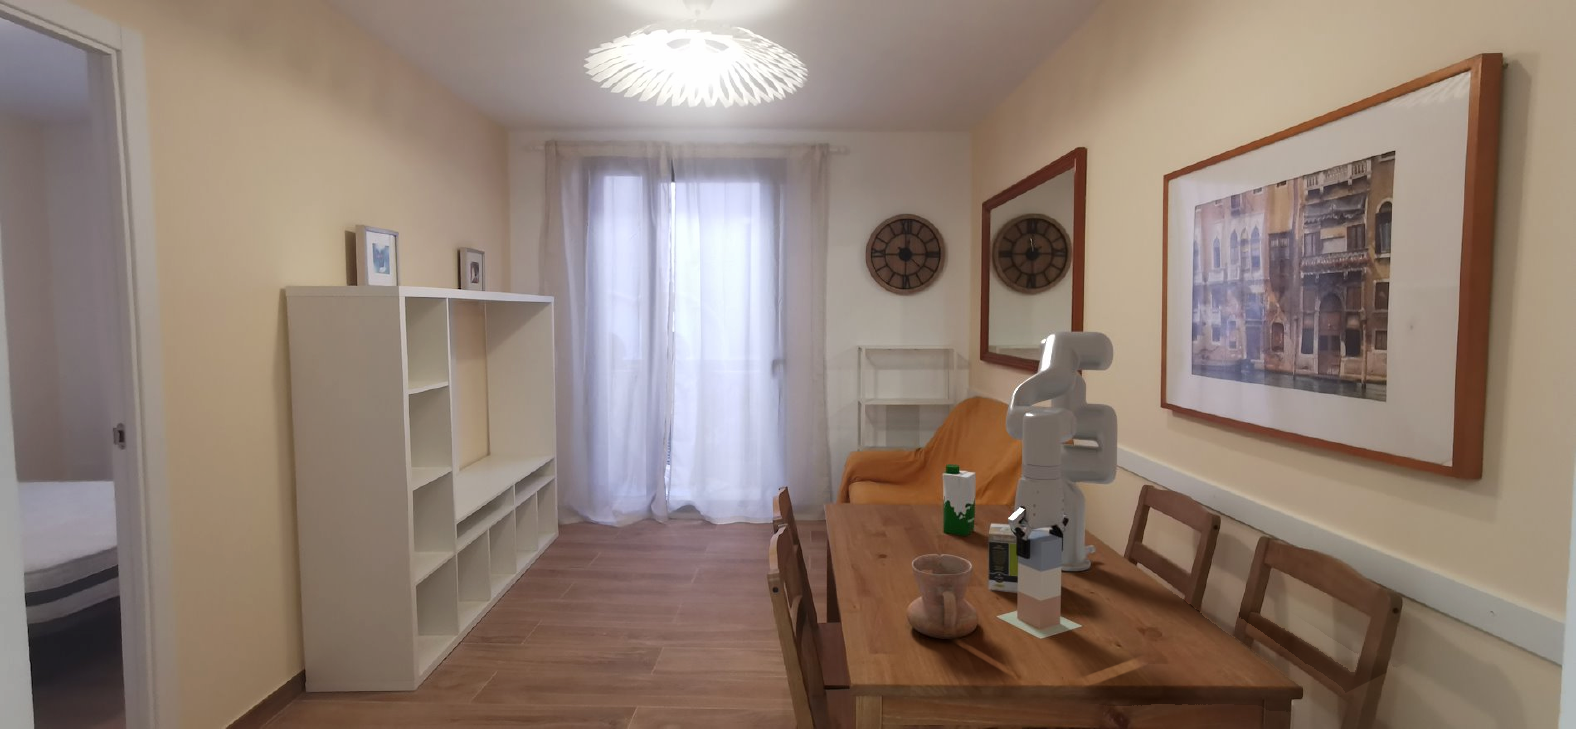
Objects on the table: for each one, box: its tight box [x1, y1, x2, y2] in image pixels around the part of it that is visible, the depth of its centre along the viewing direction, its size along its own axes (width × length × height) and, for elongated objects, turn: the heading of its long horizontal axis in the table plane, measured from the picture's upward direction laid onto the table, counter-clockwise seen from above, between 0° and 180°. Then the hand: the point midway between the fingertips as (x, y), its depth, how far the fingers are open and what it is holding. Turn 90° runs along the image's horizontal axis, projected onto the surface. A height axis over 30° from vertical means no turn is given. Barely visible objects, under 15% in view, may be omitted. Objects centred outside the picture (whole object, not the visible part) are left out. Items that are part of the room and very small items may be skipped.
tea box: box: [987, 522, 1052, 594], centre depth 167 cm, size 15×10×15 cm, turn 71°
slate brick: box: [1018, 531, 1062, 572], centre depth 146 cm, size 6×6×6 cm
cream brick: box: [1018, 563, 1062, 601], centre depth 147 cm, size 6×6×6 cm
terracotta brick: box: [1016, 591, 1062, 630], centre depth 147 cm, size 6×6×6 cm
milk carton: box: [942, 464, 976, 537], centre depth 213 cm, size 9×9×20 cm
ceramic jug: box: [906, 553, 979, 640], centre depth 145 cm, size 18×14×14 cm
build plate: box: [995, 610, 1083, 640], centre depth 147 cm, size 12×12×1 cm
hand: (1039, 553), depth 146 cm, fingers open, 9 cm apart
